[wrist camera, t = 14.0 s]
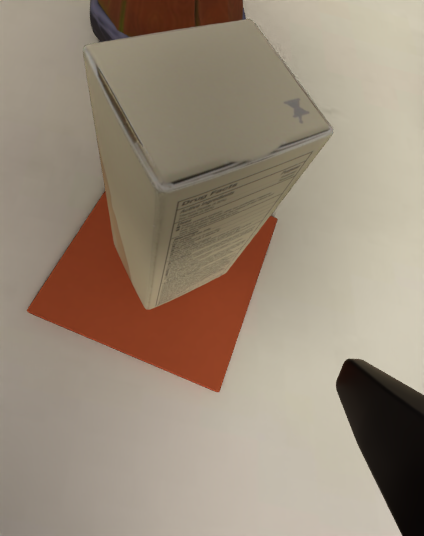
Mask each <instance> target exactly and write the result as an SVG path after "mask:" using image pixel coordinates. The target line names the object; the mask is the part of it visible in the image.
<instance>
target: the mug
mask: <svg viewBox="0 0 424 536" xmlns="http://www.w3.org/2000/svg"><path fill="white" fill-rule="evenodd" d="M90 20H91V26H92V29H93V32H94V34H95V35H96V37H97V38H98V39H99V40H100V42H104V41H111V40H117V39H123V38H129V37H135V36H141V35H147V34H153V33H159V32H166V31H171V30H177V29H184V28H190V27H198V26H205V25H211V24H218V23H225V22H232V21H239V20H246V17H245V13H244V8H243V0H90Z"/></svg>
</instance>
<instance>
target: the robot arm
mask: <svg viewBox="0 0 424 536" xmlns="http://www.w3.org/2000/svg"><path fill="white" fill-rule="evenodd" d="M336 389H337V392H338V395H339V398H340V400H341V403H342V405H343V408H344V411H345V413H346V416H347V418H348V421H349V423H350V426H351V429H352V431H353V434H354V436H355V439H356V441H357V444H358V446H359V448H360V450H361V452H362V454H363V456H364V458H365V460H366V462H367V464H368V467H369V469H370V471H371V473H372V475H373V477H374V479H375V481H376V483H377V485H378V487H379V489H380V491H381V493H382V495H383V497H384V499H385V501H386V503H387V505H388V507H389V509H390V511H391V513H392V515H393V517H394V519H395V522H396V524H397V526H398V528H399V530H400V532H401V534H402V536H424V395H423V394H421V393H419V392H417V391H416V390H414V389H412V388H410V387H409V386H407V385H405V384H403V383H402V382H400V381H398V380H397V379H395V378H393V377H391V376H390V375H388V374H386V373H384V372H383V371H381V370H379V369H377V368H376V367H374V366H372V365H370V364H369V363H367V362H365V361H364V360H361V359H347V360H346V361H345V362H344V364H343V366H342V369H341V371H340V373H339V376H338V378H337V381H336Z"/></svg>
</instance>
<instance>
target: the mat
mask: <svg viewBox="0 0 424 536" xmlns="http://www.w3.org/2000/svg"><path fill="white" fill-rule="evenodd" d="M276 222H277V218H275V217H273V216H270V217H269V218H268V219H267V221H266V222H265V223H264V225H263V226H262V227H261V228H260V230H259V231H258V232H257V234H256V235H255V236H254V237H253V239H252V240H251V242H250V243H249V244H248V245H247V246H246V248H245V249H244V250H243V252H242V253H241V254H240V256H239V257H238V258H237V259H236V261H235V262H234V263H233V265H232V266H231V267H230V269H229V270H228V271H227V272H226V273H225V274H223V275H221V276H220V277H218V278H216V279H214V280H212V281H210V282H208V283H206V284H204V285H202V286H200V287H198V288H196V289H194V290H192V291H190V292H188V293H186V294H184V295H182V296H180V297H177V298H175V299H173V300H171V301H169V302H167V303H164V304H162V305H160V306H157V307H155V308H153V309H150V310H148V309H145V308H144V306H143V304H142V302H141V300H140V298H139V296H138V294H137V292H136V290H135V288H134V286H133V284H132V282H131V280H130V278H129V276H128V274H127V272H126V270H125V268H124V265H123V263H122V261H121V259H120V257H119V254H118V252H117V250H116V247H115V245H114V241H113V235H112V229H111V222H110V216H109V209H108V203H107V197H106V191H105V192H104V193H103V195H102V196H101V198H100V199H99V201H98V203H97V204H96V206H95V207H94V209H93V210H92V212H91V213H90V215H89V216H88V218H87V219H86V221H85V222H84V224H83V225H82V227H81V228H80V230H79V232H78V233H77V235H76V236H75V238H74V239H73V241H72V242H71V244H70V245H69V247H68V248H67V250H66V251H65V253H64V254H63V256H62V257H61V259H60V260H59V262H58V264H57V265H56V267H55V268H54V270H53V271H52V273H51V274H50V276H49V277H48V279H47V280H46V282H45V283H44V285H43V286H42V288H41V289H40V291H39V292H38V294H37V296H36V297H35V299H34V300H33V302H32V303H31V305H30V306H29V308H28V309H27V312H29V313H31V314H33V315H35V316H38V317H40V318H42V319H45V320H47V321H50V322H52V323H54V324H57V325H59V326H61V327H64V328H66V329H69V330H71V331H73V332H76V333H78V334H80V335H83V336H85V337H87V338H90V339H92V340H95V341H97V342H99V343H102V344H104V345H106V346H109V347H111V348H113V349H116V350H118V351H121V352H123V353H125V354H128V355H130V356H132V357H135V358H137V359H140V360H142V361H144V362H147V363H149V364H151V365H154V366H156V367H158V368H161V369H163V370H166V371H168V372H170V373H173V374H175V375H177V376H180V377H182V378H184V379H187V380H189V381H192V382H194V383H196V384H199V385H201V386H203V387H206V388H208V389H210V390H213V391H215V392H219V391H220V388H221V385H222V382H223V379H224V376H225V373H226V370H227V367H228V364H229V362H230V359H231V356H232V353H233V350H234V347H235V344H236V341H237V338H238V335H239V332H240V329H241V326H242V323H243V320H244V317H245V314H246V311H247V308H248V305H249V302H250V299H251V296H252V293H253V291H254V288H255V285H256V282H257V279H258V276H259V273H260V270H261V267H262V264H263V261H264V258H265V255H266V252H267V249H268V246H269V243H270V240H271V237H272V234H273V231H274V228H275V225H276Z"/></svg>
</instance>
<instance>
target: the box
mask: <svg viewBox="0 0 424 536" xmlns="http://www.w3.org/2000/svg"><path fill="white" fill-rule="evenodd" d="M83 55H84V61H85V67H86V74H87V81H88V87H89V92H90V99H91V106H92V112H93V118H94V124H95V130H96V136H97V142H98V148H99V154H100V160H101V167H102V173H103V179H104V185H105V191H106V197H107V203H108V209H109V216H110V222H111V229H112V235H113V241H114V245H115V247H116V250H117V252H118V254H119V257H120V259H121V261H122V263H123V265H124V268H125V270H126V272H127V274H128V276H129V278H130V280H131V282H132V284H133V286H134V288H135V290H136V292H137V294H138V296H139V298H140V300H141V302H142V304H143V306H144V308H145V309H148V310H150V309H153V308H155V307H157V306H160V305H162V304H164V303H167V302H169V301H171V300H173V299H175V298H177V297H180V296H182V295H184V294H186V293H188V292H190V291H192V290H194V289H196V288H198V287H200V286H202V285H204V284H206V283H208V282H210V281H212V280H214V279H216V278H218V277H220V276H221V275H223V274H225V273H226V272H227V271H228V270H229V269H230V267H231V266H232V265H233V263H234V262H235V261H236V259H237V258H238V257H239V256H240V254H241V253H242V252H243V250H244V249H245V248H246V246H247V245H248V244H249V243H250V242H251V240H252V239H253V237H254V236H255V235H256V234H257V232H258V231H259V230H260V228H261V227H262V226H263V225H264V223H265V222H266V221H267V219H268V218H269V217H270V216H271V214H272V213H273V212H274V210H275V209H276V208H277V206H278V205H279V204H280V202H281V201H282V200H283V199H284V197H285V196H286V195H287V193H288V192H289V191H290V189H291V188H292V187H293V185H294V184H295V183H296V182H297V180H298V179H299V178H300V176H301V175H302V174H303V172H304V171H305V170H306V168H307V167H308V166H309V164H310V163H311V162H312V161H313V159H314V158H315V157H316V155H317V154H318V153H319V151H320V150H321V149H322V147H323V146H324V145H325V143H326V142H327V141H328V140H329V138H330V137H331V136H332V134H333V130H334V129H333V127H332V126H331V125H330V123H329V122H328V121H327V120H326V118H325V117H324V116H323V114H322V113H321V112H320V111H319V109H318V108H317V106H316V105H315V103H314V102H313V101H312V99H311V98H310V96H309V95H308V94H307V92H306V91H305V90H304V88H303V87H302V86H301V84H300V83H299V82H298V80H297V79H296V78H295V76H294V75H293V73H292V72H291V70H290V69H289V68H288V67H287V65H286V64H285V63H284V61H283V60H282V59H281V57H280V56H279V55H278V53H277V52H276V51H275V49H274V48H273V47H272V45H271V44H270V43H269V42H268V40H267V39H266V38H265V36H264V35H263V34H262V32H261V31H260V29H259V28H258V26H257V25H256V24H255V23H254V22H253V21H252V20H250V19H246V20H239V21H232V22H225V23H218V24H211V25H205V26H198V27H190V28H184V29H177V30H171V31H166V32H159V33H153V34H147V35H141V36H135V37H129V38H123V39H117V40H111V41H104V42H98V43H91V44H88V45H85V46H84V48H83Z"/></svg>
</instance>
